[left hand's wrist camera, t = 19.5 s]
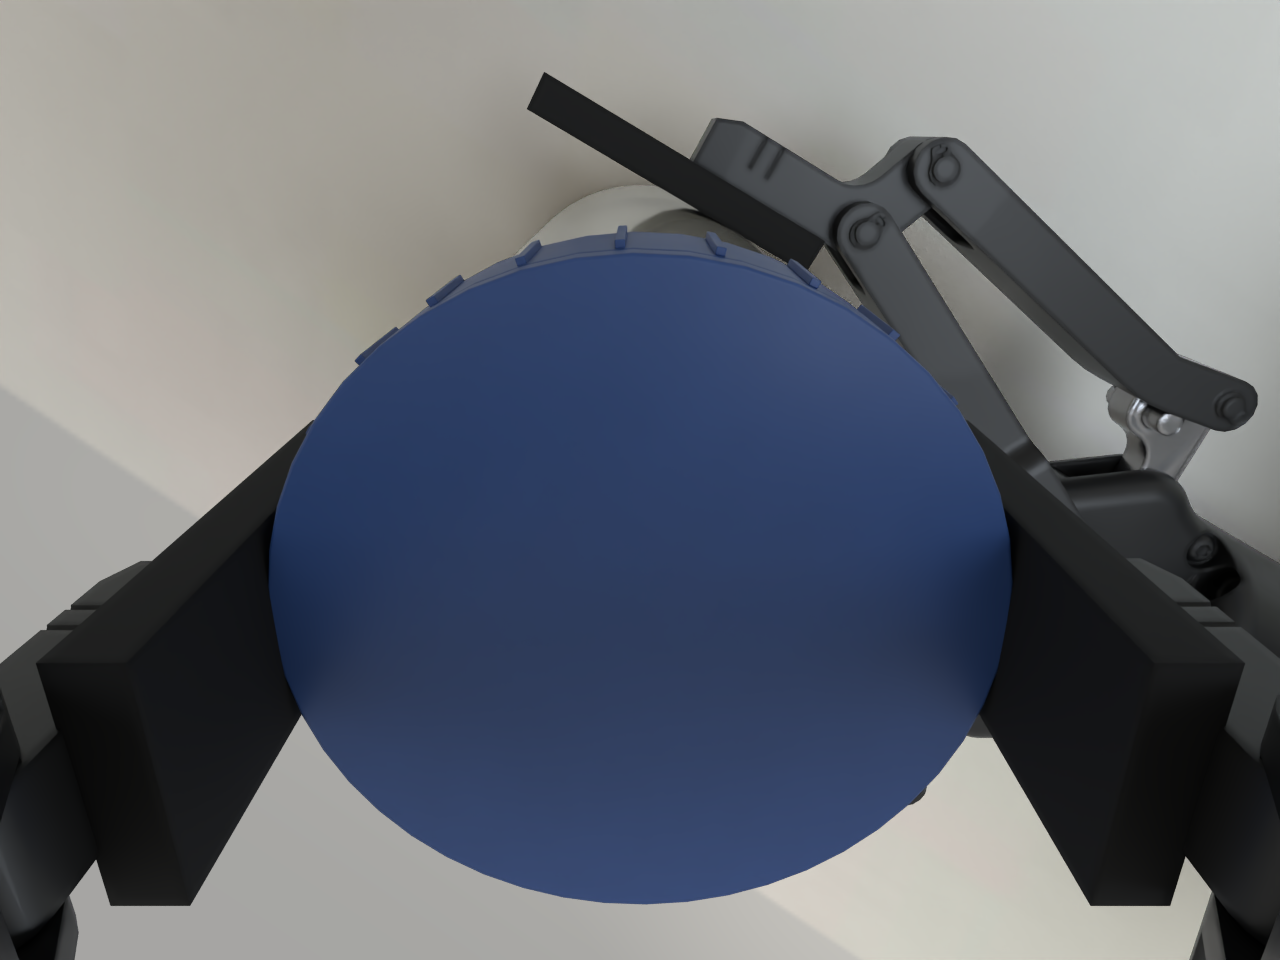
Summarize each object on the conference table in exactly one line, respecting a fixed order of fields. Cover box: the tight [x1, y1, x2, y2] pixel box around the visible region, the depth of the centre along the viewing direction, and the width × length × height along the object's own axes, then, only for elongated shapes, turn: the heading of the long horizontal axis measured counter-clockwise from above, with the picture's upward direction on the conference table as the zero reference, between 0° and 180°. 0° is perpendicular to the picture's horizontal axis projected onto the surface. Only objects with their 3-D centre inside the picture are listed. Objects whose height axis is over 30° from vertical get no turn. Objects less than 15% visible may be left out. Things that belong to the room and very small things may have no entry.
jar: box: [514, 185, 767, 256], centre depth 19 cm, size 8×8×17 cm
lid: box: [268, 225, 1013, 904], centre depth 11 cm, size 9×9×2 cm
